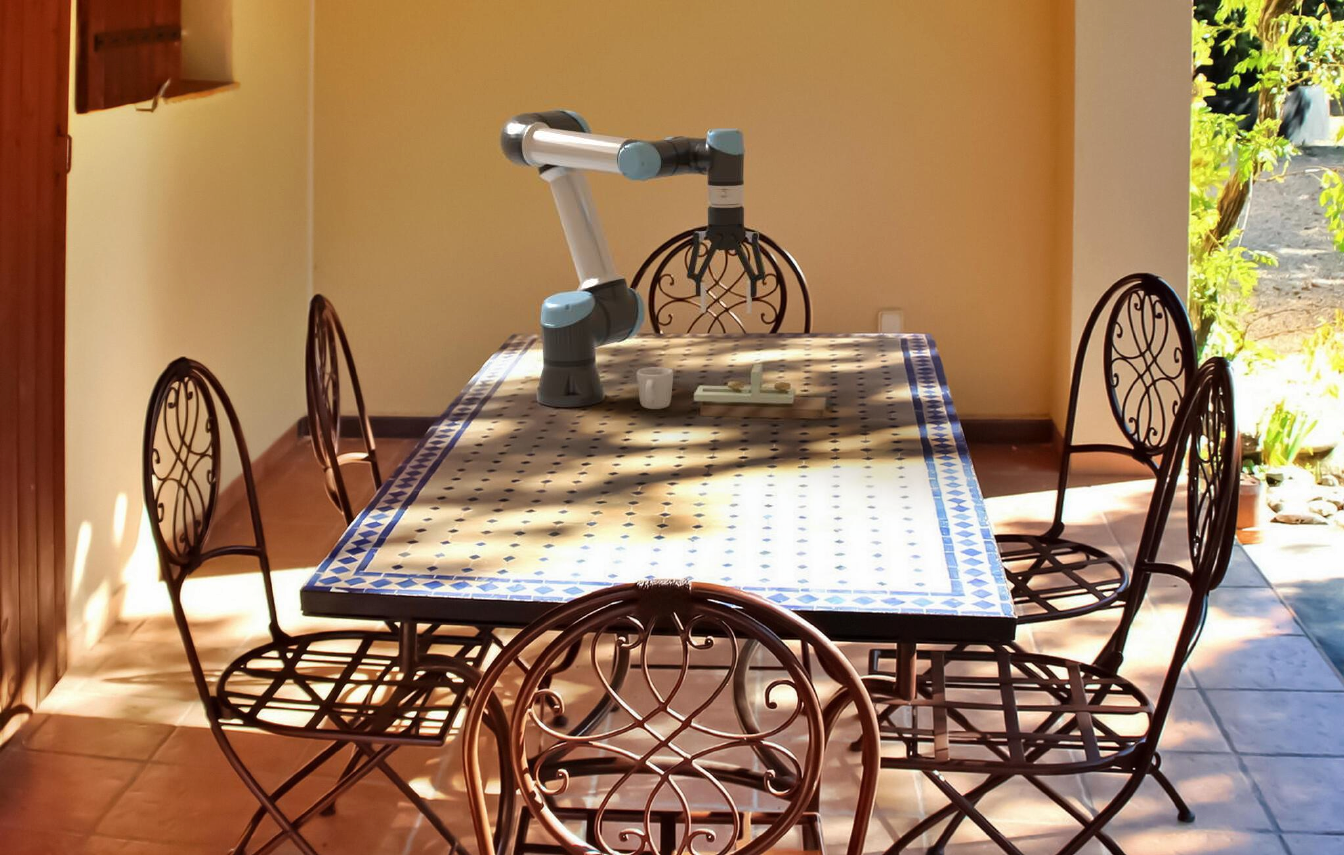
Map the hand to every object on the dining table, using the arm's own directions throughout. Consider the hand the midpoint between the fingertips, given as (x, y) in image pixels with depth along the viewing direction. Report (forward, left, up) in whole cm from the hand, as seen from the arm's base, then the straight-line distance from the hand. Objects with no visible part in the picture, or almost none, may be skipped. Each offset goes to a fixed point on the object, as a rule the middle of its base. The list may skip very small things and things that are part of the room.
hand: (726, 312), depth 304 cm
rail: (+7, +4, -21) cm, 23 cm away
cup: (-14, -8, -22) cm, 27 cm away
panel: (+3, +2, -19) cm, 19 cm away
